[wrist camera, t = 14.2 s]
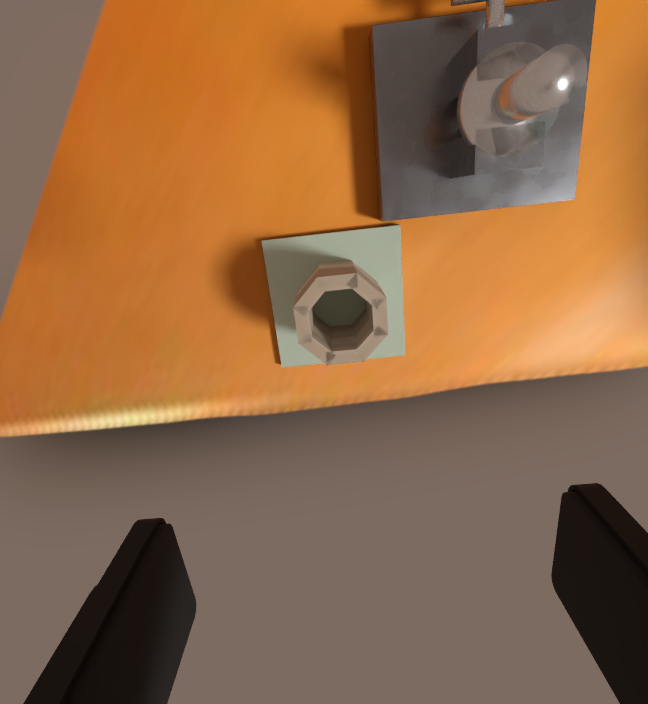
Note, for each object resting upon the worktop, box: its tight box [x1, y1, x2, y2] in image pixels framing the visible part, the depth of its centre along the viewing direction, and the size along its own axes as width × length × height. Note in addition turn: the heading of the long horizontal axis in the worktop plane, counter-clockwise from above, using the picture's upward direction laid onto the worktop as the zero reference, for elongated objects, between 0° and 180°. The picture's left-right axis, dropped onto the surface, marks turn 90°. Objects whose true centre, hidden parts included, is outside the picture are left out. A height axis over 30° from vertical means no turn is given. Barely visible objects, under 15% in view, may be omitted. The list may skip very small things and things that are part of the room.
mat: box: [262, 225, 405, 367], centre depth 34 cm, size 11×11×1 cm
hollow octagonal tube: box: [293, 260, 388, 365], centre depth 31 cm, size 6×6×6 cm
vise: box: [369, 0, 596, 221], centre depth 23 cm, size 14×13×12 cm
